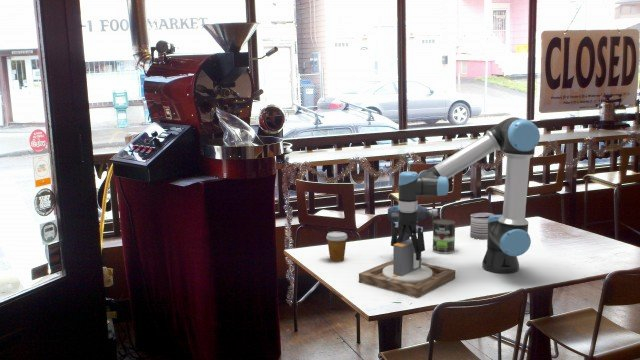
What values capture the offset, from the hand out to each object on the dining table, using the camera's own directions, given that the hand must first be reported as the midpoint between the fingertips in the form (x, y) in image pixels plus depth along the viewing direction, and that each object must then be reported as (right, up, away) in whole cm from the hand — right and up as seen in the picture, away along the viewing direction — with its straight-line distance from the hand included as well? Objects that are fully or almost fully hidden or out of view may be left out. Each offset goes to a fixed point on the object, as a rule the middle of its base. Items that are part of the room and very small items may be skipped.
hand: (407, 265), depth 255 cm
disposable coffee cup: (-28, -2, +30) cm, 41 cm away
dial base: (0, -6, +1) cm, 6 cm away
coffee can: (+23, +1, +41) cm, 47 cm away
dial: (0, -4, +1) cm, 4 cm away
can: (+46, +6, +64) cm, 79 cm away
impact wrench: (+6, -1, +29) cm, 29 cm away
